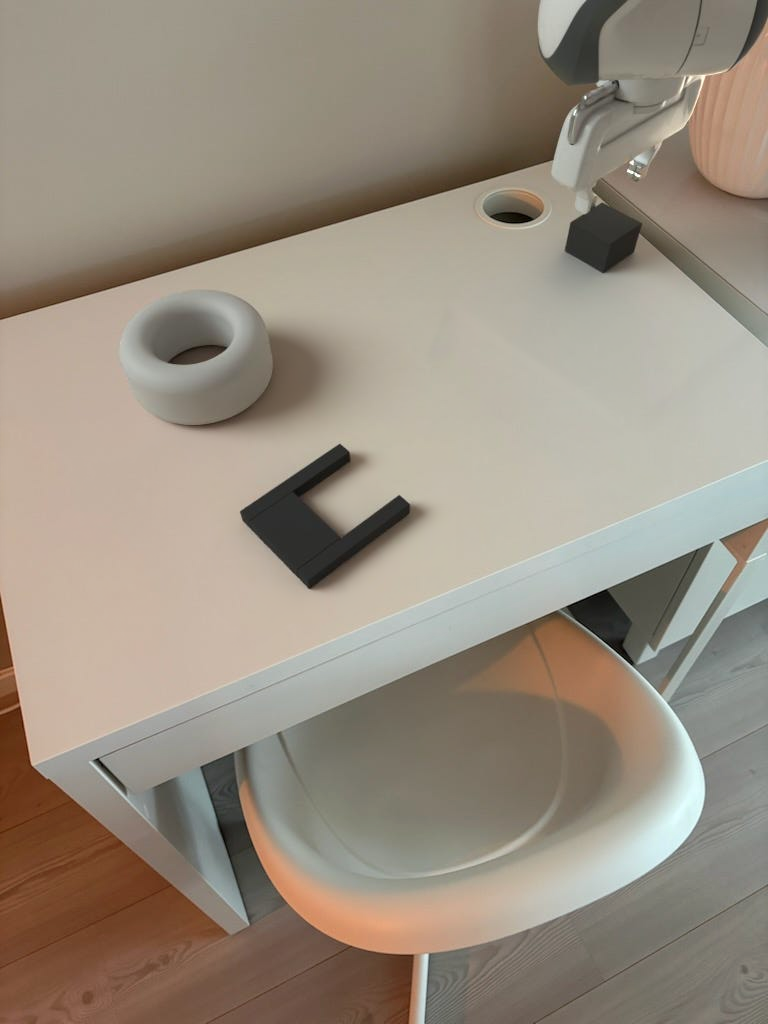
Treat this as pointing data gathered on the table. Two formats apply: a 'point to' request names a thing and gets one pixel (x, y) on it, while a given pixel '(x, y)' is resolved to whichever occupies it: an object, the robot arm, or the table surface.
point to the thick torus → (204, 385)
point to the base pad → (314, 522)
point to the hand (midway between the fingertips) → (610, 193)
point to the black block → (602, 237)
